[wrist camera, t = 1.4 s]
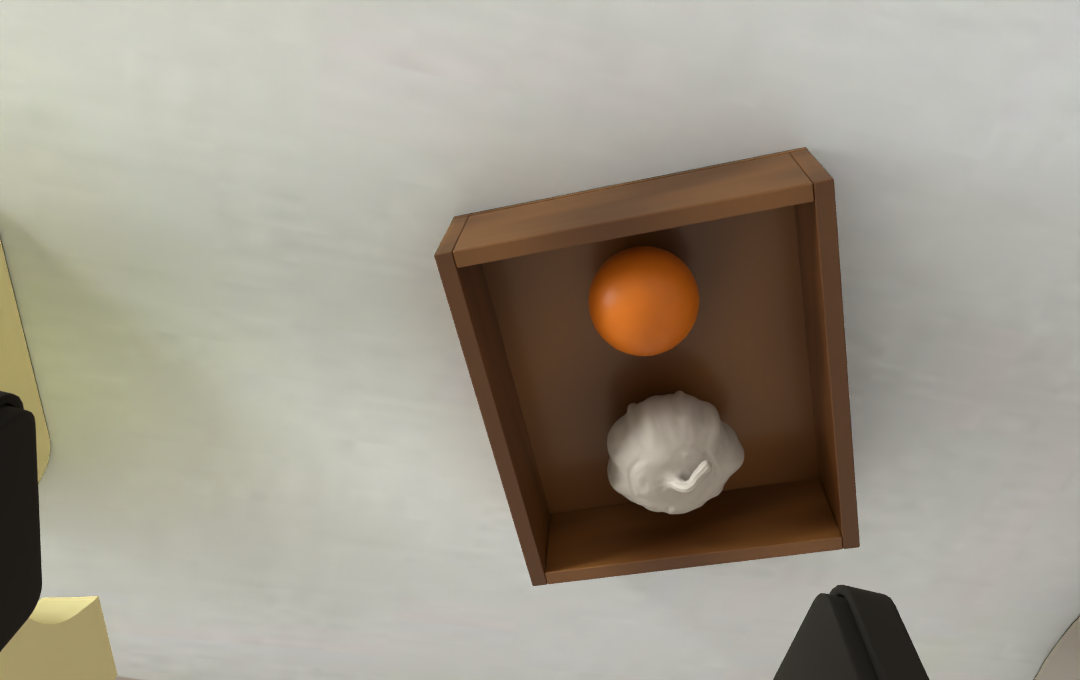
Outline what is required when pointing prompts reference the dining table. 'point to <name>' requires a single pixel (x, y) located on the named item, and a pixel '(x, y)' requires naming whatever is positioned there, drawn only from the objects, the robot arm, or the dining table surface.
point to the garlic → (672, 453)
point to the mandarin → (643, 301)
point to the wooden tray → (663, 364)
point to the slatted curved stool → (56, 623)
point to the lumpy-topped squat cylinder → (1064, 657)
